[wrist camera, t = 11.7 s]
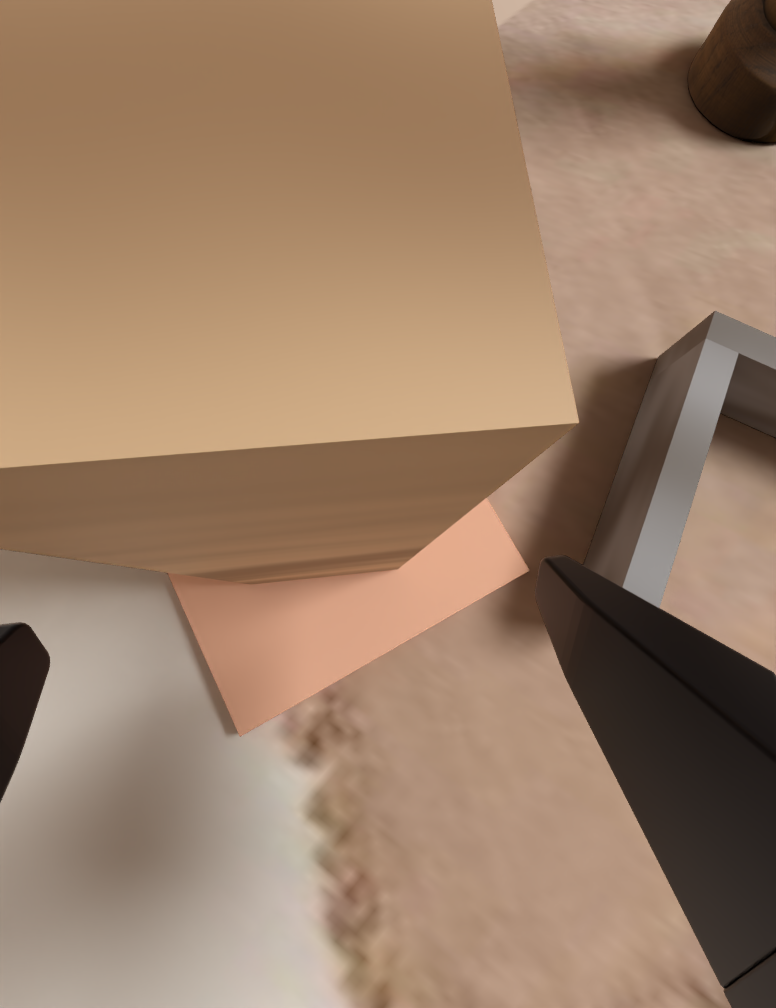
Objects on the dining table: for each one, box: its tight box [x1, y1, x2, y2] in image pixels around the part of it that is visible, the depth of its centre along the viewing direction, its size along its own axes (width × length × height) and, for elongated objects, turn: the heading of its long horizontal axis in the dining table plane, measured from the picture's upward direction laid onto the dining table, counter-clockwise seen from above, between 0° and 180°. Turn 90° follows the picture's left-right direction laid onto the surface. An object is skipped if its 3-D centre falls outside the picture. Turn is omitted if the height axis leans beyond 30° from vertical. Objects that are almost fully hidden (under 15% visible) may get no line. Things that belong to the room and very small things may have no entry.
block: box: [0, 0, 579, 584], centre depth 9 cm, size 5×5×13 cm
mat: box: [167, 498, 530, 736], centre depth 16 cm, size 11×11×1 cm
